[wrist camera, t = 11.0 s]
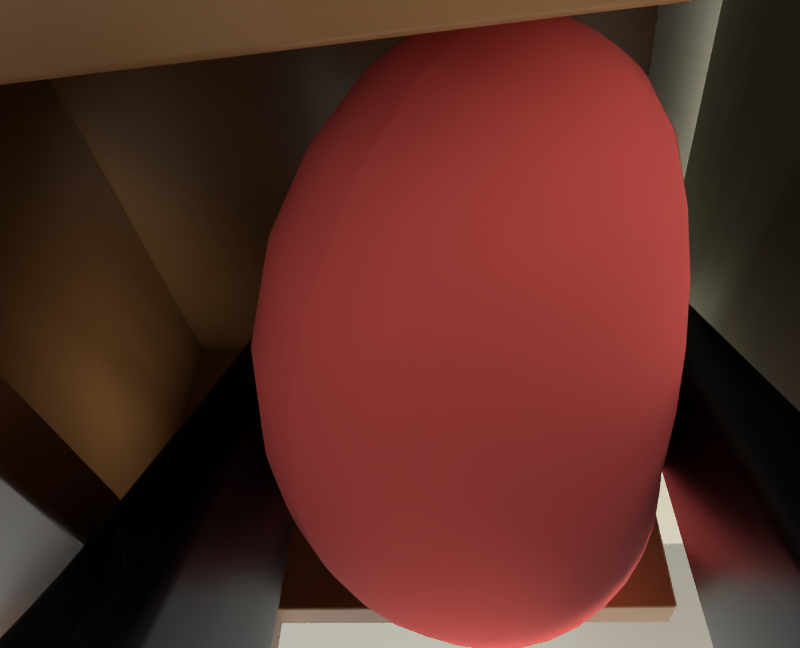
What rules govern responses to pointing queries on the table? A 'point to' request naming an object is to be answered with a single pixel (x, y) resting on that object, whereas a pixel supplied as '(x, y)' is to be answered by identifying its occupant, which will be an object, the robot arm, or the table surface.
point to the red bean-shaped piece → (479, 330)
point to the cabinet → (42, 506)
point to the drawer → (266, 191)
